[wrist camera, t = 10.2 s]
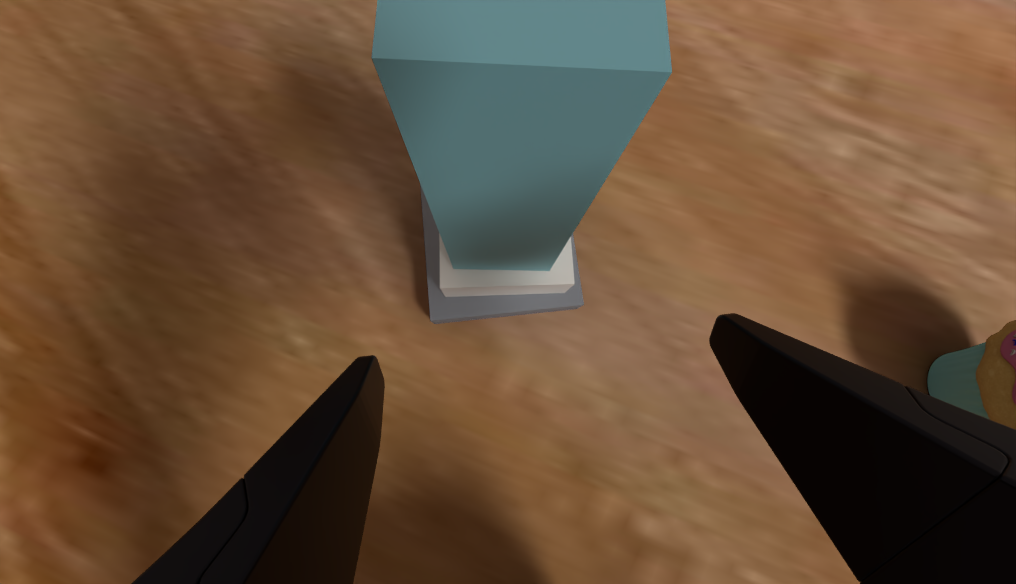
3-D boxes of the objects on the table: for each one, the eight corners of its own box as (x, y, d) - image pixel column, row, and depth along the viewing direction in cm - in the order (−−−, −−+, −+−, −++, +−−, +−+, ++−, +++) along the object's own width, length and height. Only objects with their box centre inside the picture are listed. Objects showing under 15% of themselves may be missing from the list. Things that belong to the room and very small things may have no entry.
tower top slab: (564, 293, 21) (574, 283, 19) (445, 296, 21) (439, 288, 18) (556, 184, 23) (564, 162, 20) (444, 185, 22) (438, 163, 20)
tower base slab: (573, 310, 24) (583, 304, 21) (436, 325, 23) (430, 320, 20) (555, 185, 25) (562, 166, 23) (426, 195, 25) (419, 176, 22)
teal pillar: (549, 271, 19) (671, 72, 6) (453, 269, 19) (371, 58, 6) (548, 183, 20) (651, -145, 7) (457, 180, 20) (394, -164, 7)
